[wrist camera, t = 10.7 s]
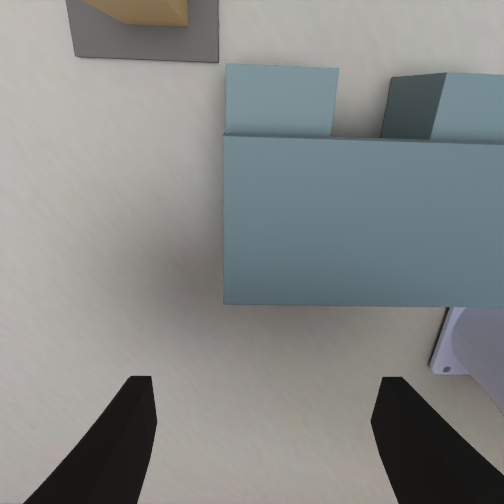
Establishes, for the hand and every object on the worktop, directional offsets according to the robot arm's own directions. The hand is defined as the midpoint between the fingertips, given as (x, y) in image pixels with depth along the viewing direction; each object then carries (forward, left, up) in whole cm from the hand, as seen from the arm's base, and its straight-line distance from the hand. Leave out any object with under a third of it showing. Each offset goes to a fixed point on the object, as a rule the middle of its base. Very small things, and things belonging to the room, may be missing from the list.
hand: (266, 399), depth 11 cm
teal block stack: (-4, -6, -9) cm, 12 cm away
